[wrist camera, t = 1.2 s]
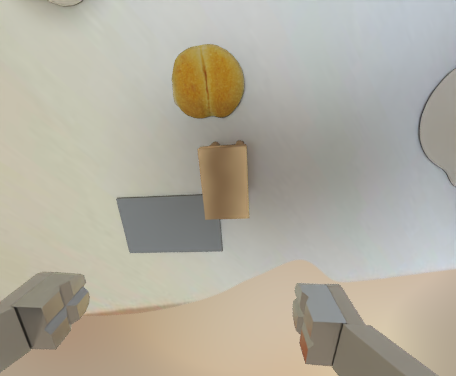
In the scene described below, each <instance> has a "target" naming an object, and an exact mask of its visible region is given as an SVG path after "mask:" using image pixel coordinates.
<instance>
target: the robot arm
mask: <svg viewBox="0 0 456 376" xmlns="http://www.w3.org/2000/svg"><path fill="white" fill-rule="evenodd" d="M420 140H421V145H422V148H423V150H424V152H425V154H426V155H427V157H428V158H429V159H430V160H431V161H432V162H433V163H434V164H436V165H437V166H439V167H440V168H442V169H443V170H444V171H445V172H446V173H447V175H448V177H449V179H450V181H451V183H452V184H453V185H454V186H455V187H456V69H454V70H453V71H452V72H451V73H450V74H449V75H447V76H446V77H445V78H444V79H443V81H442V82H441V83H440V84H439V85H438V86H437V88H436V89H435V90H434V92H433V93H432V95H431V97H430V98H429V100H428V102H427V104H426V106H425V109H424V111H423V114H422V118H421V123H420ZM85 283H86V280H85V277H84V275H82V274H75V273H61V272H40V273H37V274H36V275H35V276H33V277H32V278H31V279H29V280H28V281H27V282H25V283H24V284H23V285H22V286H20V287H19V288H18V289H16V290H15V291H14V292H12V293H11V294H10V295H8V296H7V297H6V298H4V299H3V300H2V301H0V372H1V371H3V370H5V369H6V368H7V367H9V366H10V365H11V364H12V363H14V362H15V361H17V360H18V359H20V358H21V357H22V356H24V355H25V354H26V353H28V352H29V351H30V350H31V349H57V347H58V346H59V345H60V344H61V342H62V341H63V340H64V339H65V337H66V336H67V335H68V333H69V332H70V331H71V324H73V323H74V322H76V321H78V320H79V319H80V318H81V317H82V316H83V314H84V313H85V312H86V309H87V307H88V305H89V298H90V296H89V292H88V291H87V290H86V289H85V288H84V285H85ZM295 294H296V297H297V298H296V299H295V300H294V301H293V320H294V325H295V328H296V331H297V332H298V333H299V334H301V336H300V346H301V350H302V354H303V357H304V360H305V364H312V365H323V366H333V367H332V368H333V369H334V370H335V372H336V373H337V374H338V375H339V376H438V375H437V374H436V373H434V372H433V371H431V370H430V369H429V368H427V367H426V366H424V365H423V364H422V363H421V362H419V361H418V360H417V359H415V358H414V357H412V356H411V355H410V354H409V353H407V352H406V351H404V350H403V349H402V348H400V347H399V346H398V345H396V344H395V343H393V342H392V341H391V340H390V339H388V338H387V337H386V336H384V335H383V334H382V333H380V332H379V331H377V330H376V329H375V328H373V327H372V326H370V325H365V323H364V322H363V320H362V318H361V317H360V315H359V314H358V312H357V310H356V309H355V307H354V306H353V304H352V302H351V301H350V299H349V298H348V296H347V295H346V293H345V291H344V290H343V288H342V287H341V286H340V285H339V284H304V283H297V284H296V287H295Z"/></svg>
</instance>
